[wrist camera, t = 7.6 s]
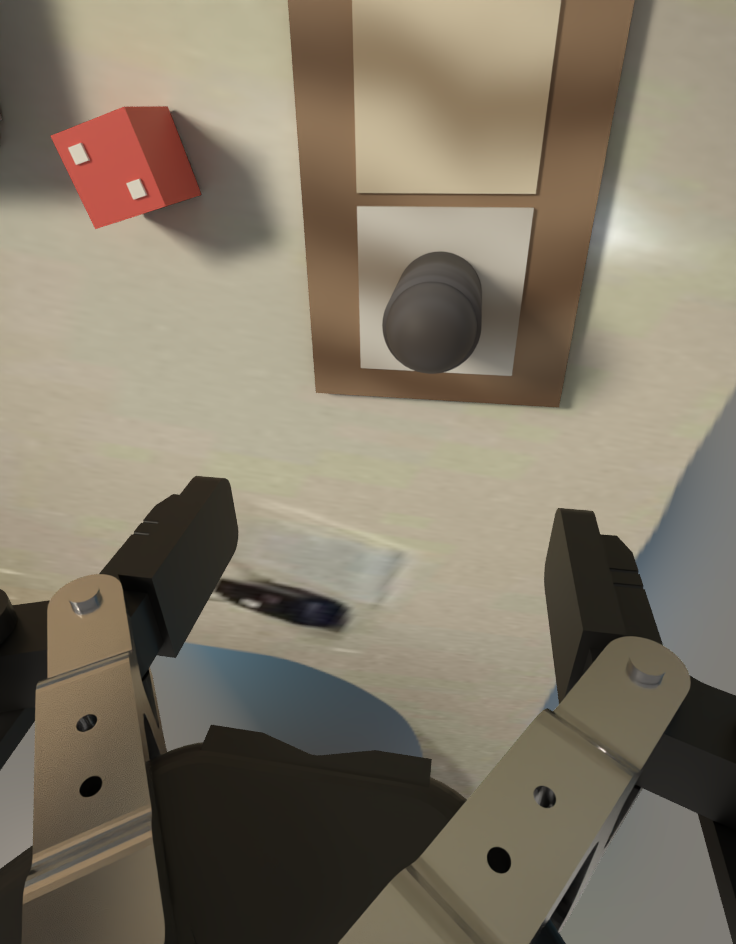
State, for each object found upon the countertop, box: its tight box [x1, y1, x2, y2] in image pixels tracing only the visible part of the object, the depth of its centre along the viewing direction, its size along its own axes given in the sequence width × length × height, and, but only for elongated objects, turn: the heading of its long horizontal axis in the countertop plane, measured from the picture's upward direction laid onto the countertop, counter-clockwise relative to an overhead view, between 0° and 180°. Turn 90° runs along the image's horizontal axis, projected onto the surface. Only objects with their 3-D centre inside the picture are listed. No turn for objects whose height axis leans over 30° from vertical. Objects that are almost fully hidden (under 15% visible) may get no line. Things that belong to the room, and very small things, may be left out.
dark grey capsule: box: [382, 251, 482, 374], centre depth 26 cm, size 4×4×7 cm
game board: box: [288, 0, 635, 407], centre depth 25 cm, size 30×14×1 cm, turn 1°
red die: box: [51, 107, 202, 229], centre depth 27 cm, size 4×4×4 cm
